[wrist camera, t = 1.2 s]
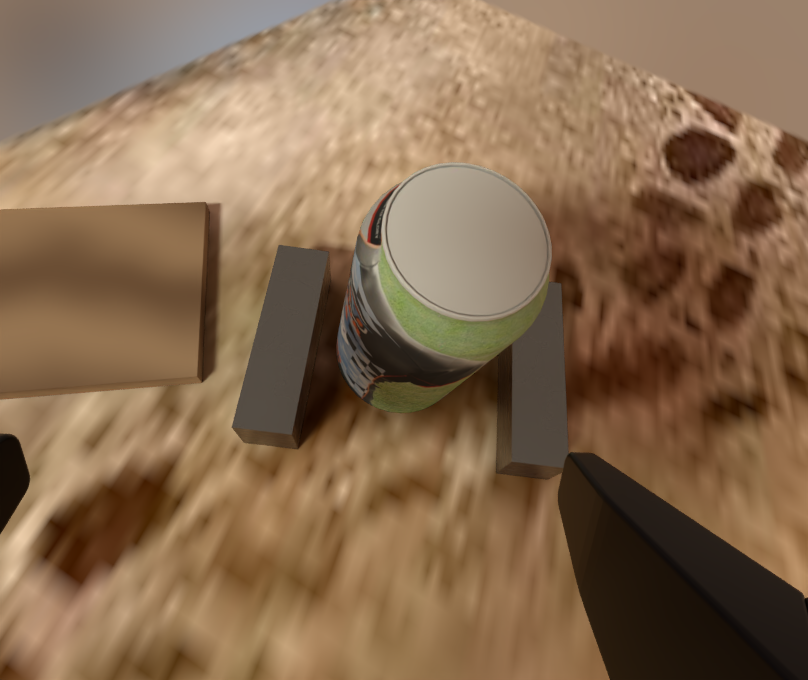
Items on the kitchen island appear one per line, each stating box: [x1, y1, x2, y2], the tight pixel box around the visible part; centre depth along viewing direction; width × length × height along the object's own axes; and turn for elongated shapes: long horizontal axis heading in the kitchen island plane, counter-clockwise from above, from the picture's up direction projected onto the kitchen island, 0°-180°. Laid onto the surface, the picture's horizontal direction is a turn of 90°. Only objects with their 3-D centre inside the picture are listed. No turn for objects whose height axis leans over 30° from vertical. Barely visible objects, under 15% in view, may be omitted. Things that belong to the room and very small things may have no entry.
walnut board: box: [0, 202, 210, 399], centre depth 24 cm, size 10×10×1 cm
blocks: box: [232, 245, 569, 479], centre depth 23 cm, size 9×14×2 cm, turn 84°
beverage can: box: [336, 162, 552, 413], centre depth 19 cm, size 6×7×12 cm
